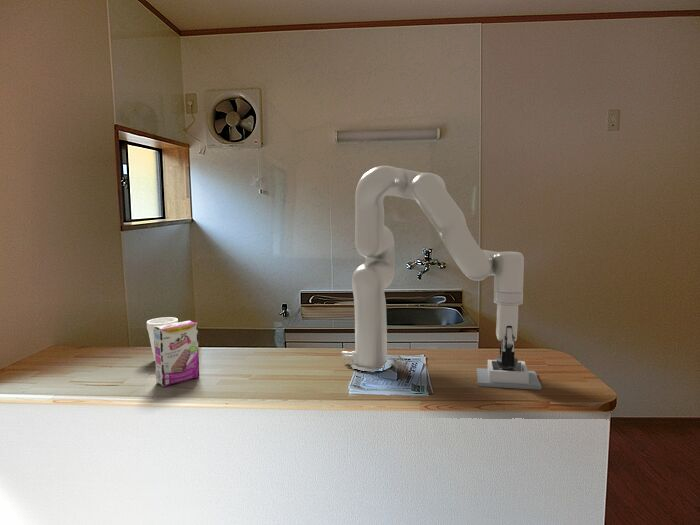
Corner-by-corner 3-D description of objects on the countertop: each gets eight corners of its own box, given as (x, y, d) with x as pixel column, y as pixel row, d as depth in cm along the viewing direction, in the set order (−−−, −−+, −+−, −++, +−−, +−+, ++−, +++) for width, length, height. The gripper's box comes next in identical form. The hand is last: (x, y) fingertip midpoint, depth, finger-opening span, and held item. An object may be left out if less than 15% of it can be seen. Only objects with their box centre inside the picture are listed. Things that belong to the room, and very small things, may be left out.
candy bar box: (163, 388, 140) (159, 329, 138) (155, 383, 144) (152, 326, 142) (201, 377, 148) (198, 322, 146) (192, 373, 151) (189, 319, 149)
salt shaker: (518, 376, 137) (520, 332, 136) (496, 374, 139) (497, 331, 137) (516, 369, 143) (517, 327, 142) (494, 367, 144) (495, 326, 143)
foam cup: (142, 362, 163) (140, 322, 161) (163, 354, 171) (161, 316, 170) (166, 365, 159) (163, 324, 158) (186, 357, 168) (184, 318, 166)
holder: (477, 386, 137) (478, 371, 136) (476, 371, 149) (476, 358, 148) (541, 389, 133) (541, 374, 133) (534, 374, 145) (535, 360, 145)
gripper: (492, 291, 147) (490, 352, 150) (495, 303, 131) (494, 371, 133) (519, 292, 146) (517, 353, 148) (526, 304, 129) (524, 373, 131)
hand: (506, 361), depth 140 cm, fingers closed on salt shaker, 5 cm apart
